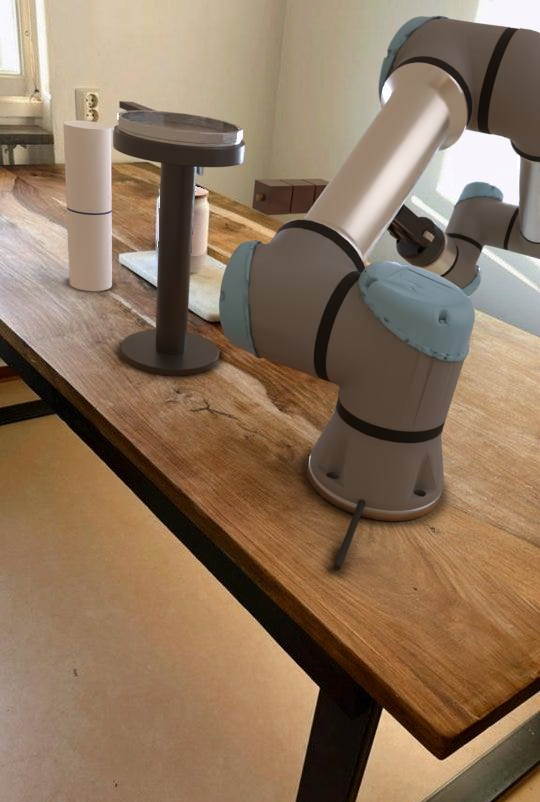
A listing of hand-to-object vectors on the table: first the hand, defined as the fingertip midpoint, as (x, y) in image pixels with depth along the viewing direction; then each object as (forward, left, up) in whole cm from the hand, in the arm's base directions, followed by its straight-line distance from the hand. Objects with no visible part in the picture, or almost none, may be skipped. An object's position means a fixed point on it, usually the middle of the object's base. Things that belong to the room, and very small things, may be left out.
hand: (348, 175), depth 102 cm
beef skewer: (-2, +2, -5) cm, 6 cm away
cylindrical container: (+2, +41, -24) cm, 48 cm away
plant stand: (-18, +23, -24) cm, 38 cm away
